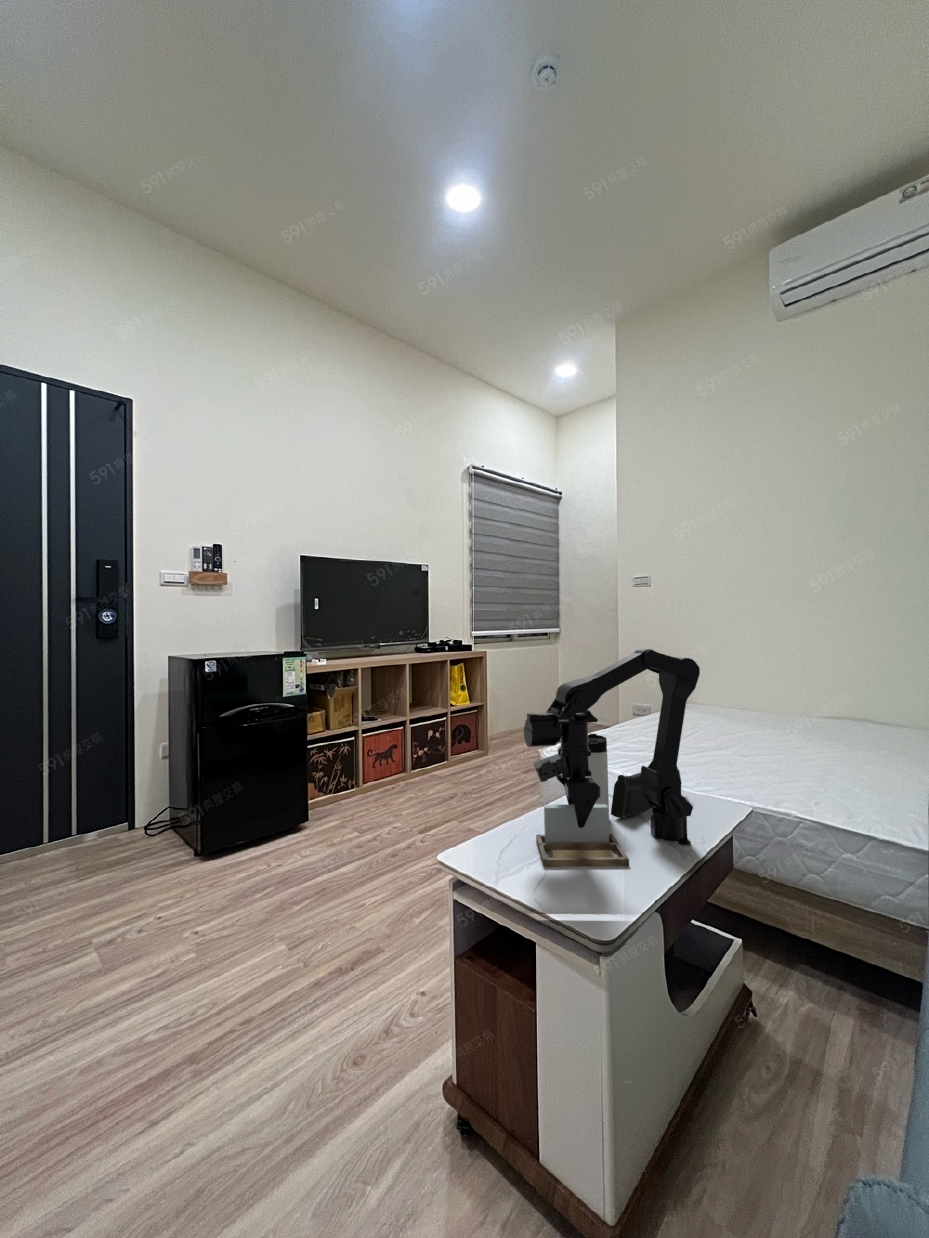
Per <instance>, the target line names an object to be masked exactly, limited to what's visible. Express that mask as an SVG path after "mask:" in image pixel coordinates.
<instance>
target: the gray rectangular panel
mask: <svg viewBox="0 0 929 1238" xmlns="http://www.w3.org/2000/svg"><path fill="white" fill-rule="evenodd" d="M543 815H544V816H543V819H544V820H543V821H544V826H543V827H544V835H545V843H610V842H609V834H610V825H609V824H610V822H609V820H610V816H609V817H608V806H607V805H606V804H594V806H593V808H592V810H591V813H590V815H589V817H588V819H587V821H586V824H585V826H584V827H583V828H579V827H578V824H577V819H576V814H575V809H574V805H568V804H544V805H543Z"/></svg>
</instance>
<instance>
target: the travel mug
mask: <svg viewBox="0 0 929 1238" xmlns="http://www.w3.org/2000/svg"><path fill="white" fill-rule="evenodd" d="M607 746H608V742H607V738H606V737H605V736H604V735H603V736H602V735H599V734H598V733H589V734H588V747H589V750H590V751H591V756H589V769H590V770H591V776H585V778H592V779H593V780H594V781H595V782H596V783H597V784H598V785H599V786H600V797H599V798H598V800H596V802H595V804H606V805H607V806H608V817H609V818H610V808H609V807H610V806H609V804H610V802H609V800H610V799H609V769H608V767H609V766H608V765H609V764H608V749H607V748H608V747H607Z"/></svg>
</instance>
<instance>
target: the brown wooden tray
mask: <svg viewBox="0 0 929 1238" xmlns="http://www.w3.org/2000/svg"><path fill="white" fill-rule="evenodd" d="M535 839H536V844H537V848H538V851H539V855H540V859H541V863H542V865H543V868H555V867H558V868H559V867H560V868H565V867H566V868H567V867H570V868H571V867H574V868H575V867H576V868H577V867H581V868H582V867H630V858H629V857H628V855H627V854H626V852H625V851H624V849H623V848H622V846H621V845H620V843H619V842H618V840H617V839H616V837H615V836H614V834H613V833H609V843H545V834H536V837H535ZM551 850H612V852H615V854H616V855H618V857H617V856H615V857H600V858H553V857H548V856H547V854H546V853H547V852H551Z"/></svg>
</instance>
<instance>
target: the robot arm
mask: <svg viewBox="0 0 929 1238" xmlns="http://www.w3.org/2000/svg"><path fill="white" fill-rule="evenodd" d="M646 670H648V671H650V672H653V673H655V674H658V683H659V687H660V690H661V693H662V700H661V706H660V712H659V717H658V718H659V719H658V725H657V731H656V738H655V745H654V750H653V756H652V757H653V758H652V760H651V762H650V763H649V764H648V766H645V765H642V766H640V767H641V768H640V773H641V777H640V780H639V782H638V783H639V784H640V785H641V792H642V793H643V795H644V796H645V797H646V798H647V800H648V802H649V805H651V806H653V807H654V808H652V814H651V815H650V820H649V821H650V834H651V836H652V837H654V839H656V840H657V839H658V840H664V841H667V842H677V843H678V844H679V845H684V846H685V845H689V846H690V845H691V844H692V843H691V840H689V839H688V818H687V817H691V815H692V813H693V812H692V811H693V809H694V806H693V805H692V804H691V803H690V802H689V801H688V800H687V799H686V798H685V797H684V796H683V795H682V784H681V782H682V778H681V779H680V777H681V775H680V776H679V772H678V770H679V768H678V769H677V767H678V760H679V759H678V758H679V751H680V747H681V746H680V745H681V739H682V733H683V726H684V719H685V714H686V706H687V702H688V699H689V697H690V696H691V695H692V693H693V692H694V691H695V690H696V688H697V684H698V682H699V678H700V672H701V669H700V666H699V665H698V663H697V662H696V661H695V660H694V659H692V658H690V657H680V656H679V657H678V656H677V657H676V656H671V655H668V654H665V653H660V652H658V651H656V650H653V649H650V648H649V649H648V648H638V649H636V650H635V651H633V653H631V654H629V655H627V656H625V657H623V658H622V659H620V660H618V661H616V662H614V663H613V664H611V665H609V666H607V667H605V668H603V669H601V670H599V671H598V672H596V673H594V674H593V675H590V676H587V677H583V678H577V679H574V680H570V681H568V682H566V683H562V684H561V685H560V686H558V687H557V690H556V694H555V698H554V699H553V701H552V703H551V704H550V706H549V707H548V709H547V710H546V712H543V713H536V712H527V714H526V719H525V721H524V727H523V738H524V741H525V744H526V745H525V746H527V748H535V747H536V748H537V747H549V746H557V744H558V743H560V746H558V748H557V754H554V755H550V756H548V757H544V758H542V759H540V760H537V761H535V762H533V766H534V769H535V771H536V775H537V777H538V780H539V781H540V783H545V782H547V781H548V780H550V779H553V778H555V777H556V779H557V781H558V782H559V783H561V784H562V785H563V787H564V792H565V793H564V794H565V796H566V801H567V805H574V809H575V814H576V819H577V824H578V827H579V828H583V827H584V826H585V824H586V821H587V819H588V817H589V815H590V813H591V810H592V808H593V806H594V804H595V802H596V800H598V798H599V797H600V786H599V785H598V784H597V783H596V782H595V781H594V780H593V779H592V778H585V776H591V770H590V769H589V756H591V751H590V750H589V747H588V735H589V723H598V722H599V721H598V718H597V717H596V716H594V715H593V713H592V712H591V711H590V710H589V709H591V708H592V707H593V706H595V704H596V703H598V702H599V700H600V699H601V697H602V696H603V695H604V694H605V693H607V692H608V691H610V690H612V689H614V688H615V687H618V686H619V685H621V684H622V683H624V682H627V681H628V680H630V679H632V678H634V677H635V676H638V675H639V674H641V673H643V672H645V671H646Z"/></svg>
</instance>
